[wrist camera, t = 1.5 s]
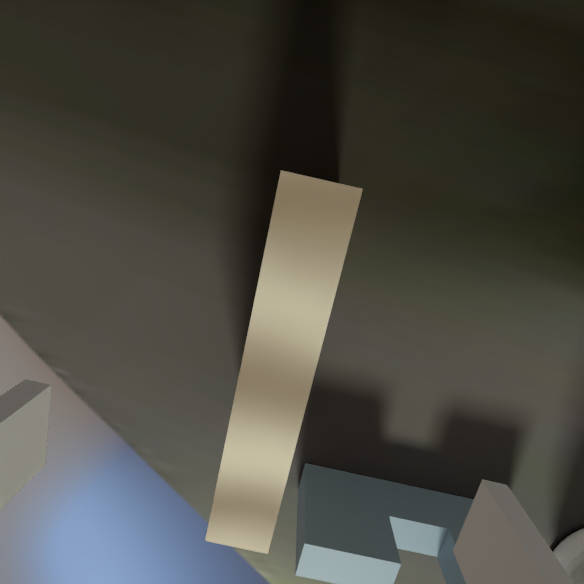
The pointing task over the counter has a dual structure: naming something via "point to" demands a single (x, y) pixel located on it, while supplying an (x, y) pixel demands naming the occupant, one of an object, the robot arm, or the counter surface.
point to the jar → (572, 555)
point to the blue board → (372, 527)
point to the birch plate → (281, 355)
